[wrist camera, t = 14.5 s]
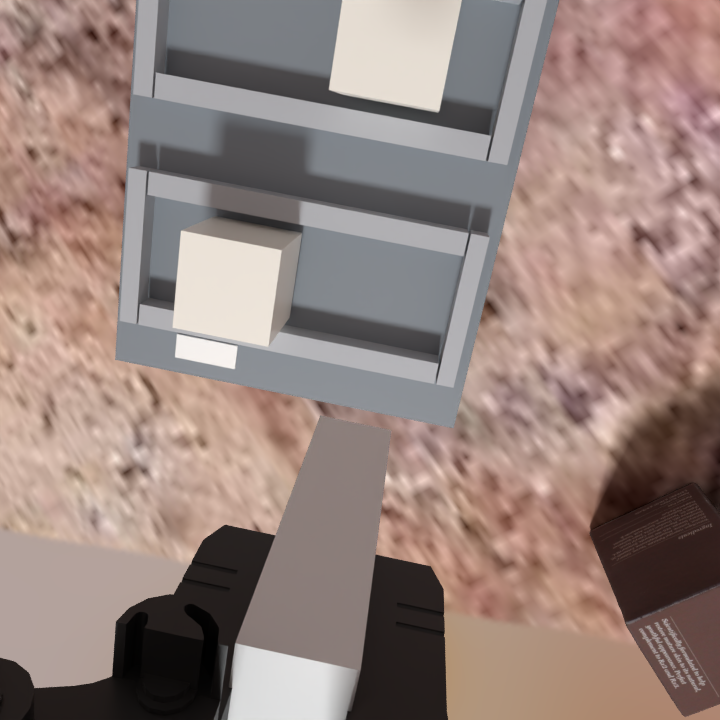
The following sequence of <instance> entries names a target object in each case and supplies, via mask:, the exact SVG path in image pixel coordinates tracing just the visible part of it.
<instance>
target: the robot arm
mask: <svg viewBox="0 0 720 720" xmlns="http://www.w3.org/2000/svg"><path fill="white" fill-rule="evenodd" d="M390 437H391V430H388V429H383V428H378V427H373V426H368V425H364V424H359V423H354V422H349V421H344V420H339V419H335V418H330V417H325V416H320V418H319V421H318V423H317V426H316V429H315V431H314V434H313V437H312V439H311V442H310V445H309V447H308V450H307V453H306V456H305V458H304V461H303V464H302V466H301V469H300V472H299V474H298V477H297V480H296V482H295V485H294V488H293V490H292V493H291V496H290V498H289V501H288V504H287V506H286V509H285V512H284V514H283V517H282V520H281V522H280V525H279V528H278V530H277V533H276V536H275V535H271V534H266V533H261V532H257V531H252V530H247V529H242V528H238V527H233V526H228V525H224V526H222V527H221V528H220V529H218V530H217V531H215V532H214V533H212V534H211V535H210V536H208V537H207V538H205V539H204V540H203V541H202V543H201V545H200V547H199V549H198V551H197V553H196V554H195V556H194V558H193V560H192V563H191V565H189V567H188V569H187V571H186V573H185V575H184V577H183V580H182V582H181V583H180V584H179V586H178V588H177V589H176V591H175V593H174V595H171V594H169V595H164V596H159V597H153V598H148V599H146V600H144V601H142V602H140V603H138V604H136V605H135V606H132V607H130V608H129V609H128V610H127V611H126V612H125V613H124V614H123V615H122V616H121V617H120V618H119V619H118V620H117V621H116V630H115V644H114V658H113V675H112V677H110V678H107V679H104V680H101V681H98V682H95V683H91V684H84V685H77V686H65V687H49V688H34V686H33V683H32V680H31V677H30V674H29V673H28V672H27V671H26V670H25V669H23V668H22V667H21V666H20V665H18V664H17V663H16V662H14V661H10V660H7V659H3V658H0V720H448V716H447V705H446V704H447V703H446V666H445V637H444V632H445V630H444V629H445V628H444V617H443V616H444V591H443V587H442V586H441V584H440V582H439V580H438V579H437V577H436V575H435V573H434V571H433V570H432V568H431V566H426V565H422V564H417V563H412V562H407V561H403V560H398V559H393V558H389V557H384V556H379V555H375V554H376V546H377V538H378V530H379V523H380V515H381V507H382V499H383V491H384V484H385V476H386V468H387V460H388V452H389V444H390Z"/></svg>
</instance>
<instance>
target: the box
mask: <svg viewBox="0 0 720 720" xmlns="http://www.w3.org/2000/svg"><path fill="white" fill-rule="evenodd" d="M590 536H591V538H592V540H593V543H594V545H595V548H596V550H597V553H598V556H599V558H600V560H601V563H602V565H603V568H604V570H605V573H606V575H607V577H608V580H609V582H610V584H611V587H612V590H613V592H614V595H615V597H616V599H617V602H618V605H619V607H620V609H621V611H622V614H623V617H624V620H625V624H626V626H627V628H628V630H629V631H630V633H631V634H632V636H633V638H634V640H635V641H636V643H637V645H638V646H639V648H640V650H641V651H642V653H643V654H644V656H645V658H646V659H647V661H648V662H649V664H650V665H651V667H652V669H653V670H654V672H655V673H656V675H657V677H658V678H659V680H660V681H661V683H662V684H663V686H664V687H665V689H666V691H667V693H668V694H669V695H670V697H671V699H672V700H673V701H674V703H675V704H676V706H677V708H678V709H679V711H680V712H681V713H682V715H683V716H685V717H686V716H689V715H692V714H695V713H698V712H700V711H703V710H705V709H708V708H711V707H713V706H716V705H719V704H720V514H719V513H718V512H717V510H716V509H715V508H714V506H713V505H712V504H711V502H710V501H709V500H708V498H707V497H706V496H705V494H704V493H703V492H702V490H701V489H700V488H699V486H698V485H697V484H695V483H692V484H690V485H687V486H685V487H683V488H681V489H679V490H676V491H674V492H672V493H670V494H668V495H666V496H663V497H661V498H659V499H657V500H655V501H653V502H651V503H649V504H647V505H645V506H643V507H641V508H638V509H636V510H634V511H632V512H630V513H628V514H626V515H623V516H621V517H619V518H616V519H614V520H612V521H610V522H607V523H605V524H604V525H601V526H599V527H597V528H595V529H593V530H591V531H590Z"/></svg>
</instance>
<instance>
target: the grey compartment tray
mask: <svg viewBox="0 0 720 720" xmlns="http://www.w3.org/2000/svg"><path fill="white" fill-rule="evenodd" d="M558 3H559V0H462V2H461V7H460V12H459V17H458V22H457V27H456V32H455V37H454V41H453V46H452V51H451V56H450V61H449V66H448V71H447V76H446V81H445V86H444V90H443V95H442V100H441V105H440V110H439V112H438V113H437V112H431V111H426V110H421V109H415V108H410V107H405V106H399V105H394V104H389V103H383V102H378V101H373V100H367V99H362V98H357V97H351V96H346V95H342V94H339V93H336V92H334V91H331V90H329V85H330V79H331V72H332V65H333V59H334V52H335V45H336V39H337V32H338V26H339V19H340V12H341V6H342V0H136V16H135V33H134V50H133V68H132V85H131V102H130V119H129V136H128V153H127V170H126V187H125V204H124V221H123V238H122V255H121V272H120V289H119V307H118V324H117V341H116V358H115V360H120V361H125V362H129V363H134V364H139V365H144V366H149V367H154V368H159V369H164V370H169V371H174V372H179V373H184V374H189V375H194V376H199V377H204V378H208V379H213V380H218V381H223V382H228V383H233V384H238V385H243V386H248V387H253V388H258V389H263V390H268V391H273V392H278V393H282V394H287V395H292V396H297V397H302V398H307V399H312V400H317V401H322V402H327V403H332V404H337V405H342V406H347V407H352V408H357V409H361V410H366V411H371V412H376V413H381V414H386V415H391V416H396V417H401V418H406V419H411V420H416V421H421V422H426V423H431V424H435V425H440V426H445V427H450V428H454V423H455V419H456V415H457V411H458V407H459V403H460V399H461V395H462V391H463V387H464V383H465V379H466V375H467V371H468V367H469V363H470V359H471V355H472V351H473V347H474V343H475V339H476V334H477V330H478V326H479V322H480V318H481V314H482V310H483V306H484V302H485V298H486V294H487V290H488V286H489V282H490V278H491V274H492V270H493V266H494V262H495V258H496V254H497V250H498V246H499V241H500V237H501V233H502V229H503V225H504V221H505V217H506V213H507V209H508V205H509V201H510V197H511V193H512V189H513V185H514V181H515V177H516V173H517V169H518V165H519V161H520V157H521V152H522V148H523V144H524V140H525V136H526V132H527V128H528V124H529V120H530V116H531V112H532V108H533V104H534V100H535V96H536V92H537V88H538V84H539V80H540V76H541V72H542V68H543V64H544V59H545V55H546V51H547V47H548V43H549V39H550V35H551V31H552V27H553V23H554V19H555V15H556V11H557V7H558ZM214 216H218V217H223V218H228V219H233V220H239V221H244V222H249V223H254V224H259V225H264V226H269V227H274V228H280V229H285V230H290V231H295V232H300V233H302V237H301V244H300V251H299V257H298V264H297V271H296V278H295V284H294V291H293V298H292V305H291V312H290V318H289V319H288V320H287V322H286V323H285V325H284V326H283V327H282V329H281V330H280V331H279V333H278V334H277V336H276V337H275V338H274V340H273V341H272V342H271V344H270V345H269V347H266V346H261V345H256V344H251V343H246V342H242V341H237V340H232V339H227V338H222V337H217V336H212V335H207V334H202V333H197V332H192V331H187V330H182V329H177V328H172V327H173V316H174V305H175V293H176V282H177V270H178V259H179V247H180V236H181V230H183V229H186V228H188V227H190V226H193V225H195V224H197V223H200V222H202V221H204V220H207V219H209V218H212V217H214Z"/></svg>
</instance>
